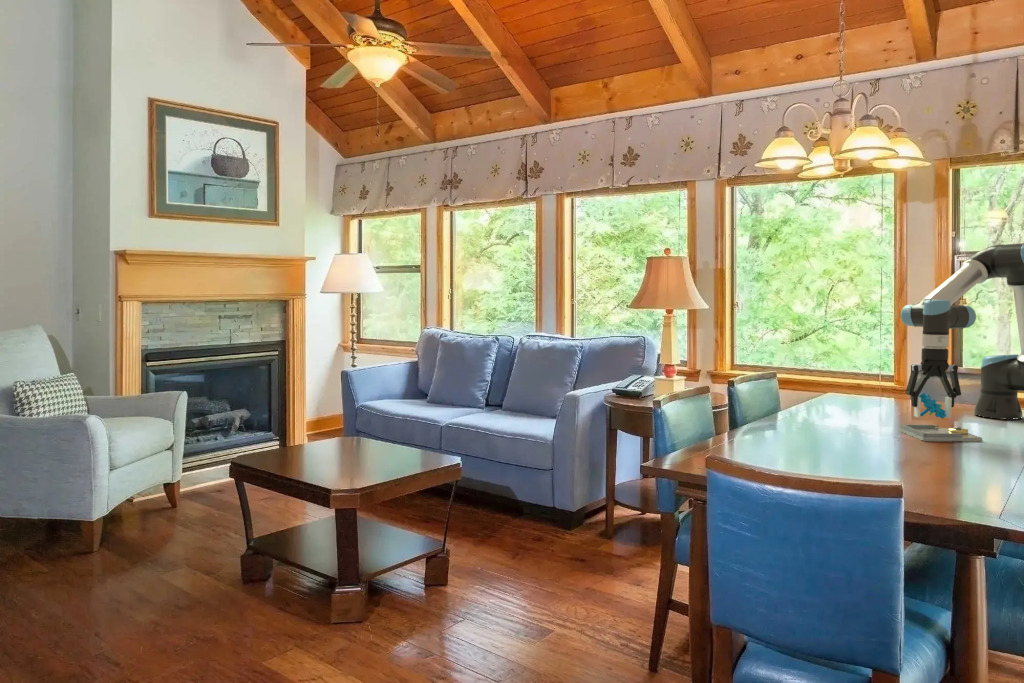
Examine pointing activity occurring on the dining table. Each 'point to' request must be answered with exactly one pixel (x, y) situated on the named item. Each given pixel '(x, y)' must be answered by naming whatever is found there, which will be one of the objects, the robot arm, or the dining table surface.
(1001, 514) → the dining table surface
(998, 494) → the dining table surface
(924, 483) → the dining table surface
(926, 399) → the gear
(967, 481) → the dining table surface
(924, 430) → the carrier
